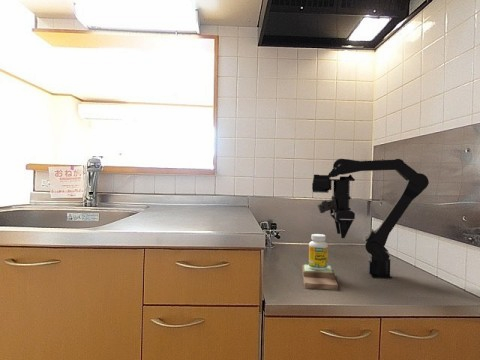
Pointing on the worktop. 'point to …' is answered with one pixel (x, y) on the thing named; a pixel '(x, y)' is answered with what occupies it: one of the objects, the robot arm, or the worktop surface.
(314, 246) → the supplement bottle
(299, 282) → the worktop surface
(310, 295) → the worktop surface
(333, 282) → the step stand
